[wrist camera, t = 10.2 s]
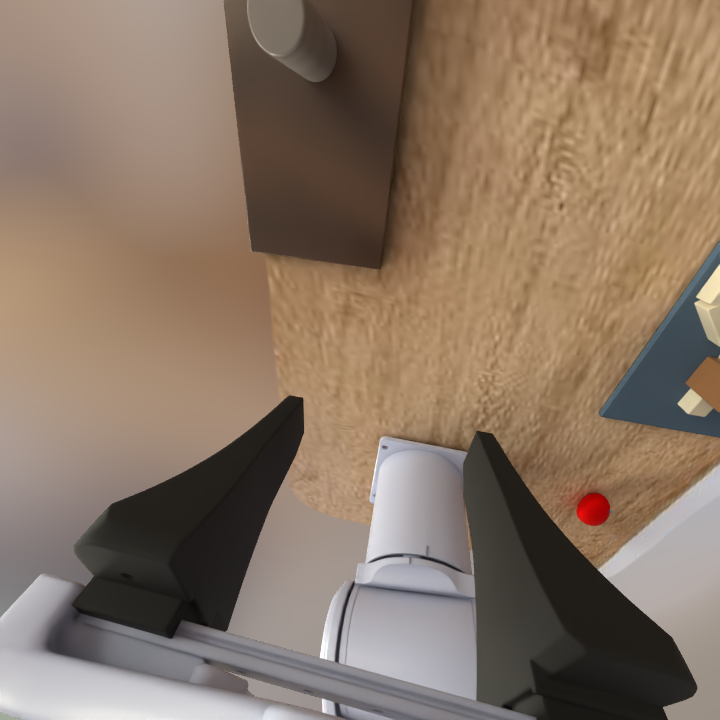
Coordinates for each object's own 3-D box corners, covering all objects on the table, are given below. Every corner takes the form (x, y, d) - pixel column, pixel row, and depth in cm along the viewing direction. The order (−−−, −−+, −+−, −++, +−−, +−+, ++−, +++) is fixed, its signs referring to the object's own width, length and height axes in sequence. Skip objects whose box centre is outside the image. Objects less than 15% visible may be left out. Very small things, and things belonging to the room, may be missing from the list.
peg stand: (382, 265, 19) (369, 296, 15) (256, 248, 19) (210, 272, 15) (431, -131, 11) (435, -310, 7) (219, -133, 12) (105, -293, 8)
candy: (591, 511, 27) (601, 533, 25) (567, 506, 27) (575, 527, 25) (609, 490, 25) (621, 512, 24) (582, 485, 25) (593, 507, 24)
